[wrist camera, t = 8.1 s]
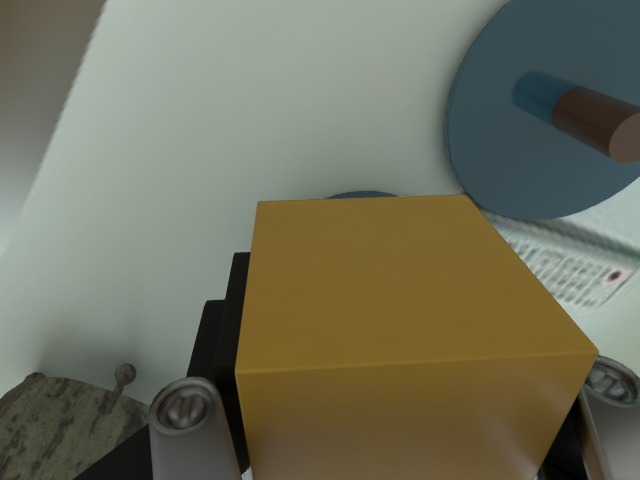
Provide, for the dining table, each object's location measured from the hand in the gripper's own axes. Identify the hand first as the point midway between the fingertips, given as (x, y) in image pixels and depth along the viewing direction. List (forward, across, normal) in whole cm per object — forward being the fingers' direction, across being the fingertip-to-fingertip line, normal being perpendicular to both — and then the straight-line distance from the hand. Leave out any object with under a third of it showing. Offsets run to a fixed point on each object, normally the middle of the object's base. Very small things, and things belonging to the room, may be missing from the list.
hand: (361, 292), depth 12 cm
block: (0, 0, 0) cm, 0 cm away
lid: (+14, -14, -1) cm, 21 cm away
